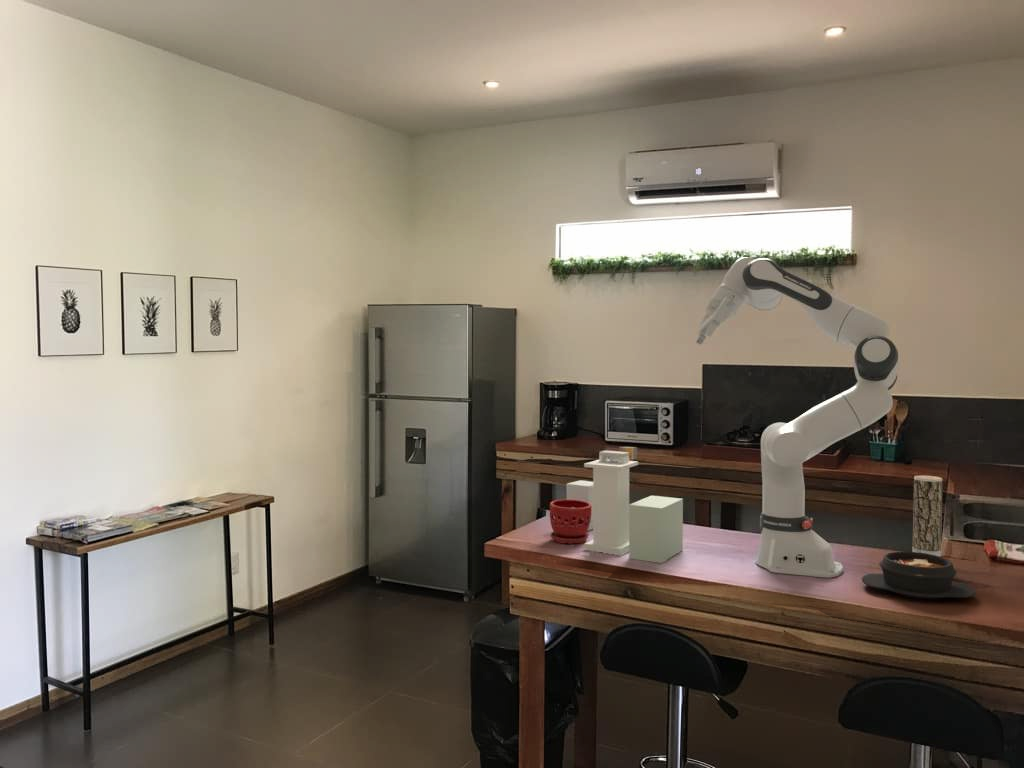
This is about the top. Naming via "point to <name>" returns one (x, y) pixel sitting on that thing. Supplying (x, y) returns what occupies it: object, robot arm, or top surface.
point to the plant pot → (570, 520)
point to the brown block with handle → (631, 451)
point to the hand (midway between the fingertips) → (702, 340)
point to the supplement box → (581, 494)
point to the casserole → (918, 576)
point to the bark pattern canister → (927, 515)
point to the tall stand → (610, 503)
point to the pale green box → (655, 528)
